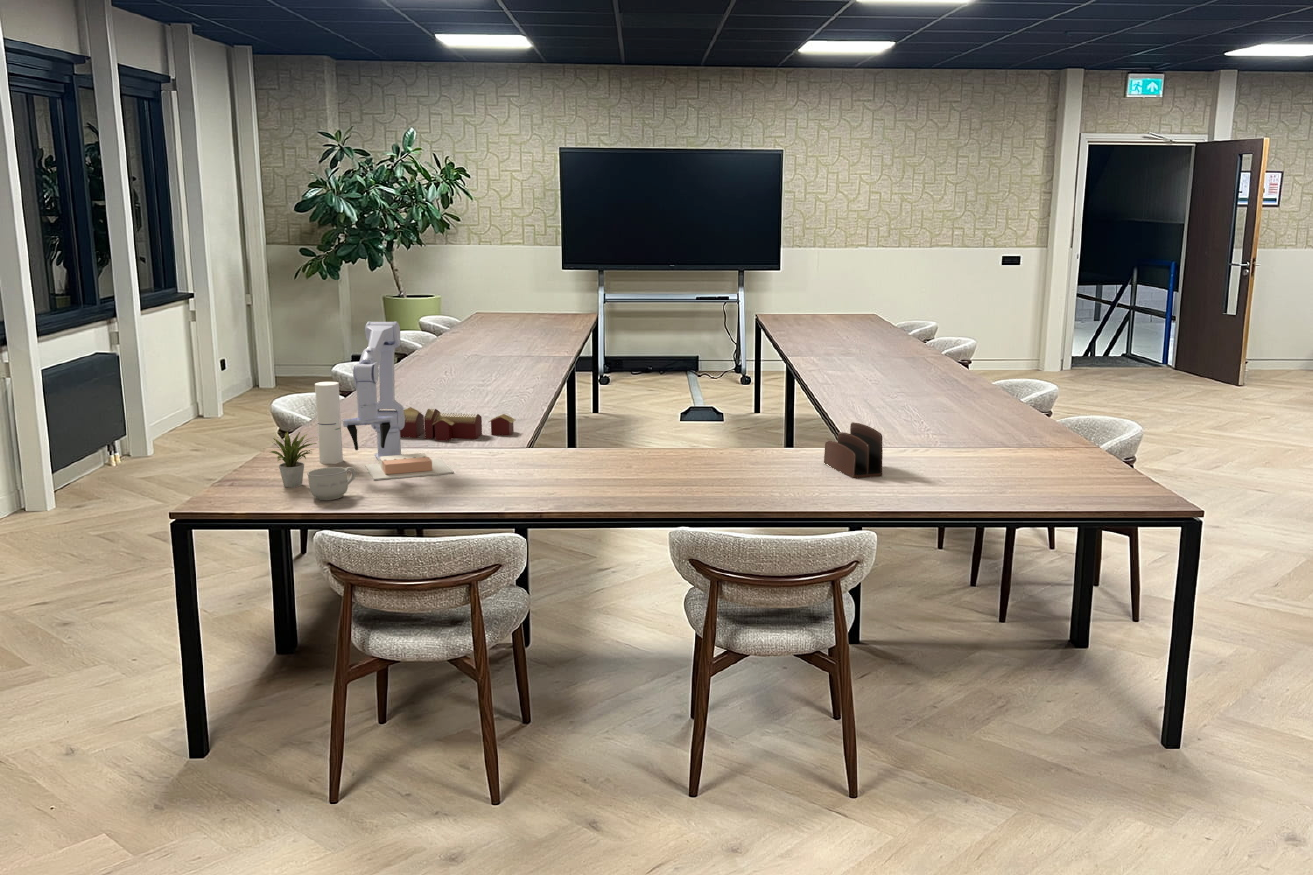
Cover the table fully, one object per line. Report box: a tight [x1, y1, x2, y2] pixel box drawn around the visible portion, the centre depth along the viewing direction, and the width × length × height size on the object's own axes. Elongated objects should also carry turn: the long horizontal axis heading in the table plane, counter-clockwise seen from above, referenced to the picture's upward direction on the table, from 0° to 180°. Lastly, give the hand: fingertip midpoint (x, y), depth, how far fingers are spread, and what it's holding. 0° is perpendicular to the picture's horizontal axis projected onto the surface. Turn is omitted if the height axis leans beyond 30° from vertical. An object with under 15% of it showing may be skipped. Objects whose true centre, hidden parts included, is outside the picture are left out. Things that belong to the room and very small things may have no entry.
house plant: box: [269, 430, 318, 489], centre depth 327 cm, size 14×14×16 cm
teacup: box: [307, 466, 357, 501], centre depth 317 cm, size 14×11×8 cm
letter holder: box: [823, 422, 883, 479], centre depth 350 cm, size 10×20×14 cm, turn 19°
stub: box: [382, 456, 432, 474], centre depth 345 cm, size 6×14×3 cm, turn 112°
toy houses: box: [400, 406, 517, 442], centre depth 399 cm, size 45×20×10 cm, turn 83°
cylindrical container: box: [314, 381, 344, 465], centre depth 357 cm, size 7×7×25 cm
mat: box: [364, 457, 455, 481], centre depth 349 cm, size 19×24×1 cm
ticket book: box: [378, 452, 429, 470], centre depth 351 cm, size 6×14×3 cm, turn 112°
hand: (369, 448), depth 338 cm, fingers open, 7 cm apart
